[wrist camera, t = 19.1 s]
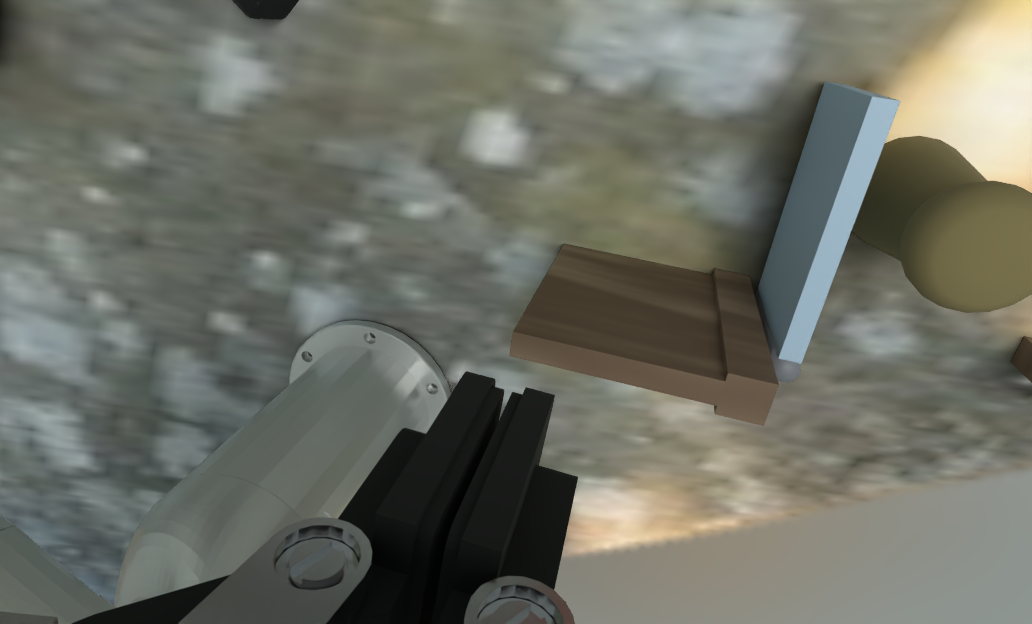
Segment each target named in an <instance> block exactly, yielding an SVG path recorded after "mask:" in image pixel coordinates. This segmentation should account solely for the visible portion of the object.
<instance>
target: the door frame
mask: <svg viewBox="0 0 1032 624" xmlns="http://www.w3.org/2000/svg"><path fill="white" fill-rule="evenodd" d="M509 356H512V357H516V358H520V359H525V360H529V361H533V362H537V363H541V364H545V365H549V366H554V367H558V368H562V369H566V370H570V371H574V372H578V373H583V374H587V375H591V376H595V377H599V378H603V379H607V380H612V381H616V382H620V383H624V384H628V385H632V386H636V387H641V388H645V389H649V390H653V391H657V392H661V393H666V394H670V395H674V396H678V397H682V398H686V399H690V400H695V401H699V402H703V403H707V404H711V405H714V411H715V414H717V415H721V416H725V417H729V418H733V419H738V420H742V421H746V422H750V423H754V424H758V425H762V426H764V424H765V421H766V418H767V416H768V413H769V410H770V407H771V405H772V402H773V399H774V397H775V394H776V391H777V388H778V386H779V384H778V380H777V377H776V373H775V369H774V366H773V362H772V358H771V354H770V351H769V347H768V343H767V340H766V336H765V332H764V329H763V325H762V321H761V318H760V314H759V310H758V307H757V303H756V299H755V295H754V292H753V288H752V284H751V281H750V277H749V276H748V275H743V274H738V273H734V272H729V271H724V270H719V269H714V272H713V275H711V274H706V273H702V272H697V271H692V270H687V269H682V268H678V267H673V266H668V265H663V264H659V263H654V262H649V261H644V260H639V259H635V258H630V257H625V256H620V255H615V254H611V253H606V252H601V251H596V250H592V249H587V248H582V247H577V246H572V245H568V244H564V245H563V246H562V248H561V250H560V251H559V253H558V255H557V257H556V258H555V260H554V262H553V264H552V265H551V267H550V269H549V270H548V272H547V274H546V276H545V277H544V279H543V281H542V283H541V284H540V286H539V288H538V289H537V291H536V293H535V295H534V296H533V298H532V300H531V302H530V303H529V305H528V307H527V308H526V310H525V312H524V314H523V315H522V317H521V319H520V320H519V322H518V324H517V326H516V327H515V329H514V331H513V335H512V342H511V348H510V355H509ZM1011 362H1012V363H1013V364H1014V365H1015V366H1016V367H1017V368H1018V369H1019V370H1020V371H1021V372H1022V373H1023V374H1024V375H1025V376H1026V377H1027V378H1028V379H1029V380H1030V381H1031V382H1032V338H1030V337H1025V336H1024V338H1023V340H1022V342H1021V344H1020V345H1019V347H1018V349H1017V351H1016V353H1015V355H1014V357H1013V358H1012V360H1011Z"/></svg>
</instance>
